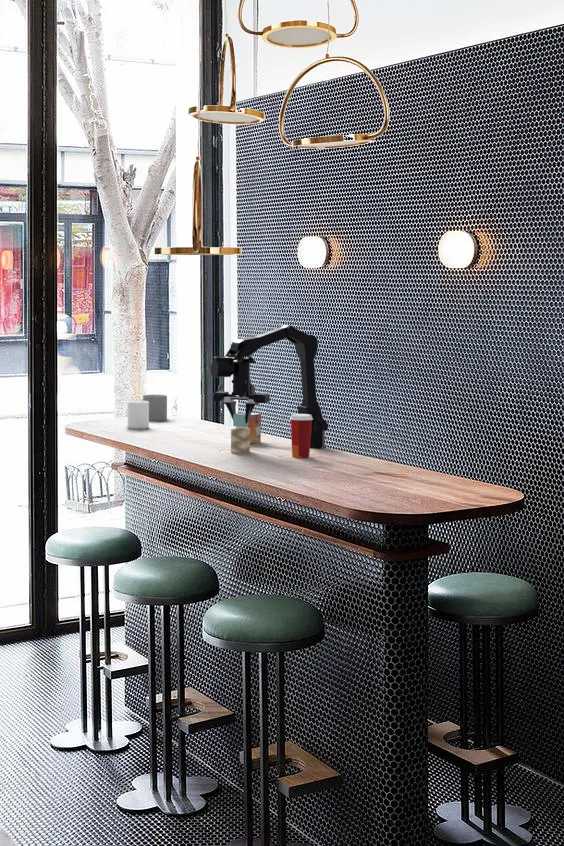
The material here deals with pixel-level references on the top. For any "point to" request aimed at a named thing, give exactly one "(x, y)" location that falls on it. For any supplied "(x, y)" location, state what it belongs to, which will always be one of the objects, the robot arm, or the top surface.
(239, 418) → the teal cube
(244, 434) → the birch upper block
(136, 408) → the mug
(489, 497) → the top surface
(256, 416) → the small box
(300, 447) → the paper cup
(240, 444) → the birch lower block
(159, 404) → the coffee mug
